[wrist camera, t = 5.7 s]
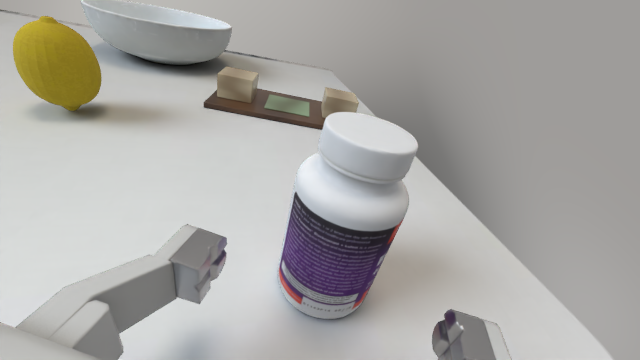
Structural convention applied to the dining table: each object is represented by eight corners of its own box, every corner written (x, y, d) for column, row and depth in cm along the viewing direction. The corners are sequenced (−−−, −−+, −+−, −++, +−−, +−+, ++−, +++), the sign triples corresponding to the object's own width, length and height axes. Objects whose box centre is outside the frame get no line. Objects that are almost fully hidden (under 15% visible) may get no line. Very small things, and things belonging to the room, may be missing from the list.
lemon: (116, 104, 30) (101, 19, 25) (94, 125, 25) (71, 27, 21) (52, 97, 28) (24, 5, 24) (17, 118, 24) (-26, 10, 19)
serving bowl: (234, 56, 59) (236, 20, 56) (224, 85, 42) (225, 35, 39) (123, 36, 54) (116, -6, 50) (60, 59, 37) (43, -1, 33)
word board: (350, 111, 45) (357, 89, 43) (360, 136, 37) (368, 110, 35) (224, 85, 42) (225, 61, 40) (203, 107, 34) (203, 77, 32)
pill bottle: (375, 324, 15) (462, 172, 10) (274, 321, 14) (311, 149, 9) (355, 248, 19) (408, 116, 14) (278, 241, 18) (304, 96, 13)
